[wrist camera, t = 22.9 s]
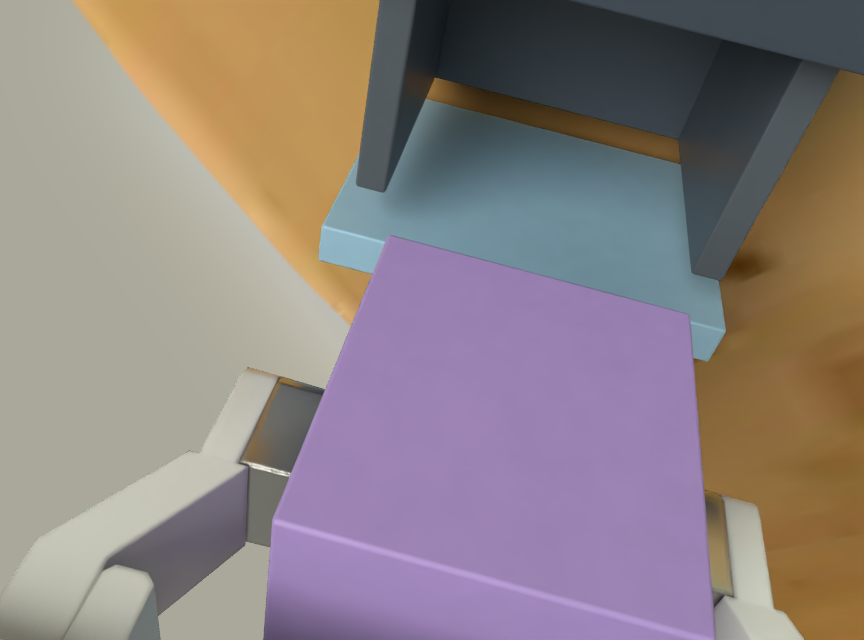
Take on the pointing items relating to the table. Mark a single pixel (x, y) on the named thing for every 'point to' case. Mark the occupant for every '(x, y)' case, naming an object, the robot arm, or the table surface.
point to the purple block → (497, 467)
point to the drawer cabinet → (765, 25)
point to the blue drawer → (572, 148)
